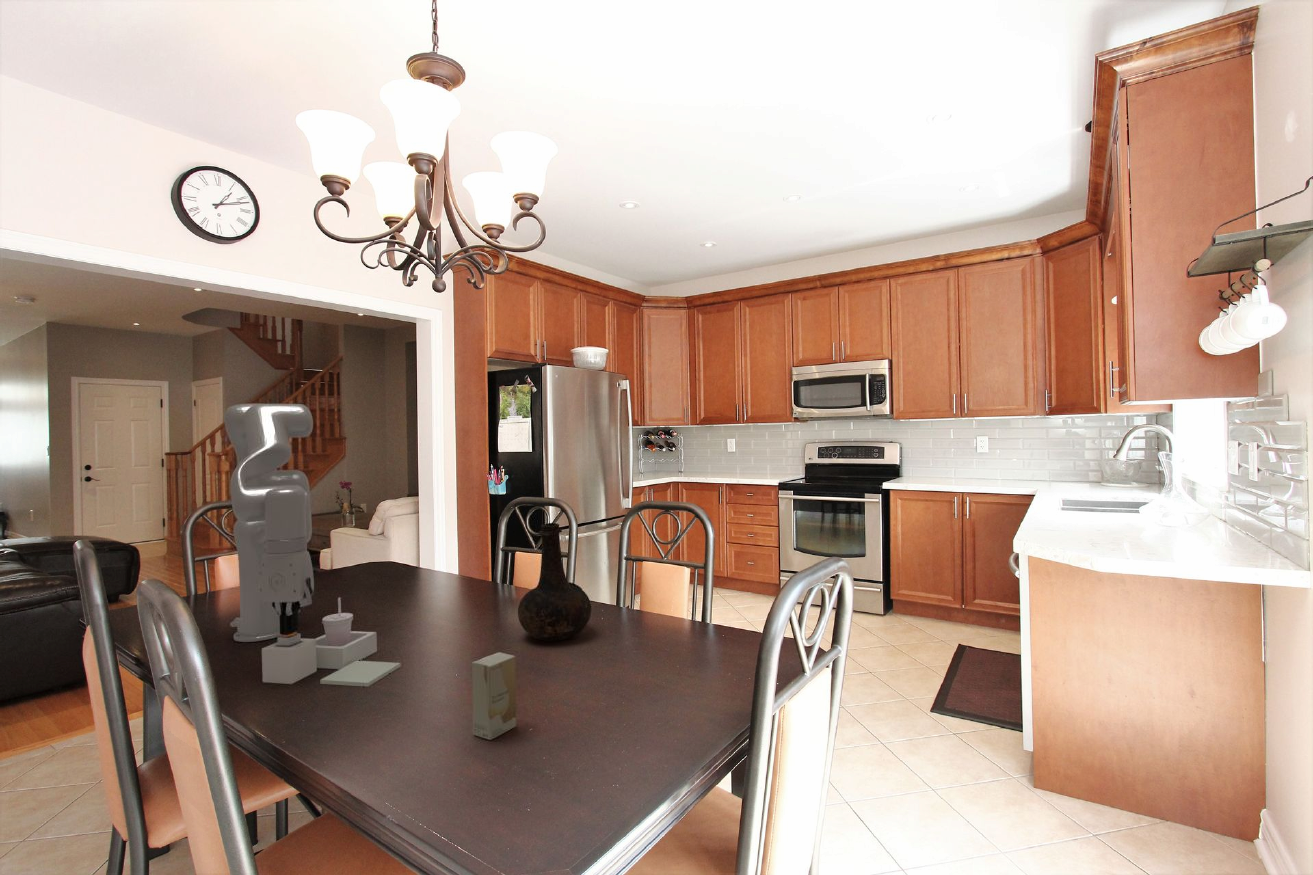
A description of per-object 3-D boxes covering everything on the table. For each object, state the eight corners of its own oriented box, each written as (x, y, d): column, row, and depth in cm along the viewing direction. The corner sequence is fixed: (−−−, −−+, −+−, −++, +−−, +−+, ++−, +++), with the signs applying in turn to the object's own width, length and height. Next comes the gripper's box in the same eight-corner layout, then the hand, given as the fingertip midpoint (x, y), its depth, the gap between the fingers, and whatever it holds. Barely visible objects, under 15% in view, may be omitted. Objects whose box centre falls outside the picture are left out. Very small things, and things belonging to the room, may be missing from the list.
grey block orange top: (278, 665, 131) (277, 634, 131) (289, 660, 134) (288, 630, 134) (290, 666, 131) (289, 635, 131) (301, 661, 134) (300, 630, 134)
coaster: (320, 683, 128) (320, 679, 128) (356, 664, 139) (356, 660, 139) (367, 686, 126) (367, 682, 126) (400, 666, 137) (400, 662, 137)
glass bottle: (606, 633, 156) (603, 521, 156) (550, 653, 143) (547, 531, 143) (559, 620, 168) (556, 517, 168) (503, 638, 154) (500, 525, 154)
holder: (298, 666, 138) (297, 646, 138) (334, 649, 149) (334, 630, 149) (343, 669, 136) (342, 648, 136) (376, 651, 147) (376, 632, 147)
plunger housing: (262, 682, 130) (261, 648, 130) (288, 669, 137) (288, 637, 137) (291, 683, 128) (290, 650, 128) (316, 671, 135) (315, 638, 135)
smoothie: (341, 664, 139) (339, 601, 139) (316, 663, 140) (314, 601, 140) (360, 654, 145) (358, 594, 145) (336, 653, 146) (334, 593, 146)
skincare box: (490, 741, 102) (488, 667, 102) (471, 735, 104) (469, 662, 104) (518, 725, 107) (516, 654, 107) (500, 719, 110) (498, 650, 110)
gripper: (241, 549, 130) (244, 636, 130) (303, 550, 127) (306, 639, 127) (270, 542, 138) (273, 625, 138) (329, 543, 135) (332, 628, 135)
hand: (289, 632), depth 132 cm, fingers closed
